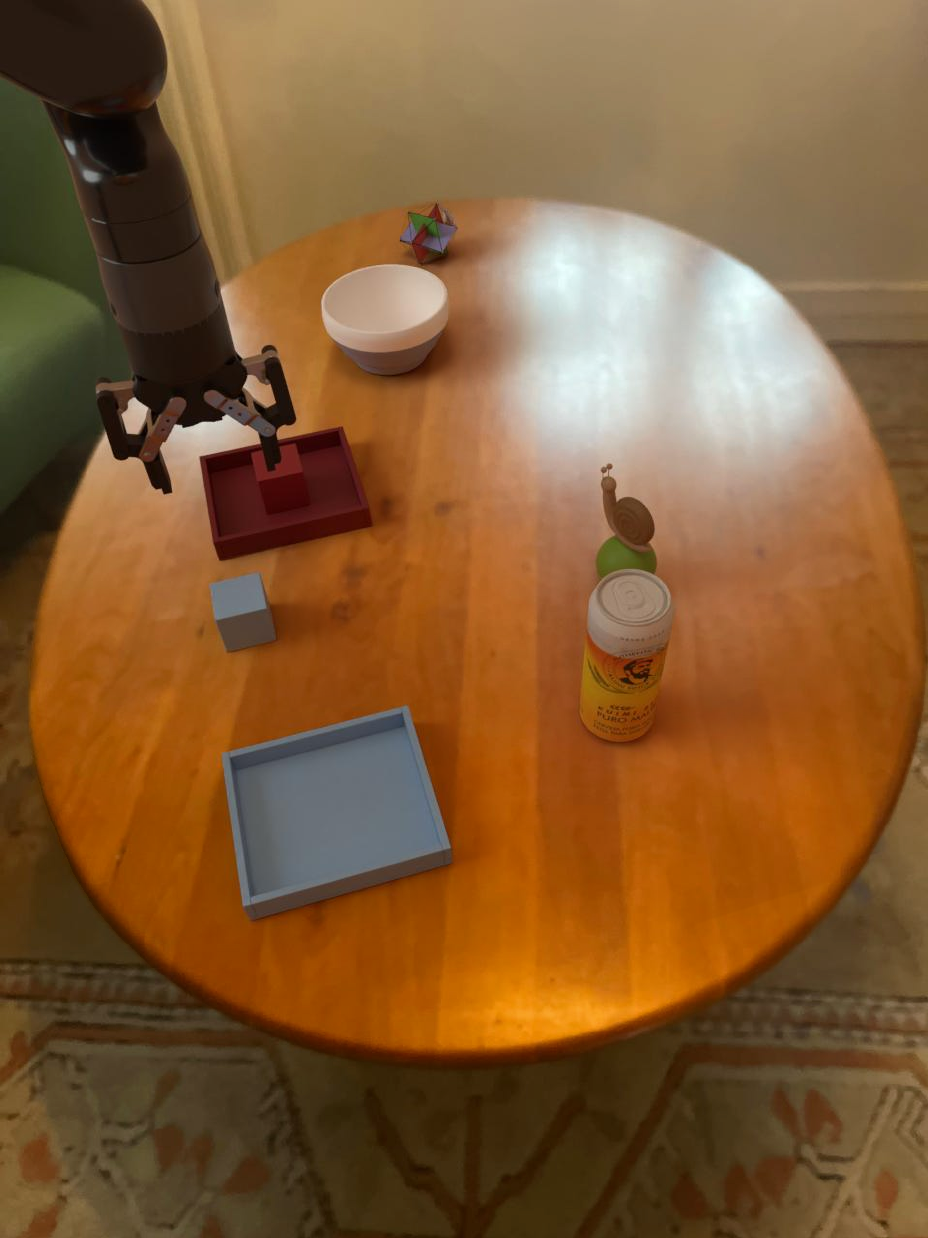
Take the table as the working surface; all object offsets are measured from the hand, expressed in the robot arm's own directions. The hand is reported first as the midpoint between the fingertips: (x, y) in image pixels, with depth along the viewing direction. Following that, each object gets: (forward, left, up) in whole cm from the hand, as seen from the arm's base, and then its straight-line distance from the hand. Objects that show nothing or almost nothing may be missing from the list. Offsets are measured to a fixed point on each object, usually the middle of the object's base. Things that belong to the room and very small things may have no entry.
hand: (219, 476), depth 79 cm
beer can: (+27, -24, -14) cm, 38 cm away
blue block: (-1, -5, -14) cm, 15 cm away
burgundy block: (+5, +11, -14) cm, 18 cm away
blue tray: (+3, -26, -14) cm, 29 cm away
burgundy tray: (+5, +11, -14) cm, 19 cm away
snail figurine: (+33, -10, -14) cm, 37 cm away
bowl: (+21, +32, -14) cm, 41 cm away
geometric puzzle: (+31, +52, -14) cm, 63 cm away
